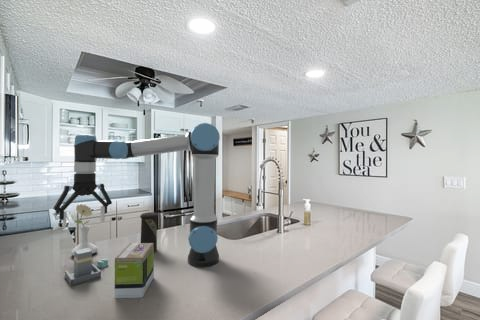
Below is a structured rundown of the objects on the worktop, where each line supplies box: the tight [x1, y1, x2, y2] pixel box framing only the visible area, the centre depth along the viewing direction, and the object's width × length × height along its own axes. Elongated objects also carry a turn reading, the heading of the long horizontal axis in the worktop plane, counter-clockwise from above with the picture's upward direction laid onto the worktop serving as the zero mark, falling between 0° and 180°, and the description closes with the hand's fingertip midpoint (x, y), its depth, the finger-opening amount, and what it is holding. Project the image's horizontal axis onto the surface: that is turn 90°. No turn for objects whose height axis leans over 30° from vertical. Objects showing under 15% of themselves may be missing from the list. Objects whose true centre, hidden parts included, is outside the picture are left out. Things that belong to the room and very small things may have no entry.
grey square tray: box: [64, 263, 102, 287], centre depth 100 cm, size 11×10×2 cm
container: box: [139, 211, 159, 253], centre depth 130 cm, size 9×9×20 cm
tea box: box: [114, 242, 155, 299], centre depth 93 cm, size 15×10×15 cm, turn 5°
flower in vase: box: [70, 203, 98, 257], centre depth 123 cm, size 13×11×25 cm
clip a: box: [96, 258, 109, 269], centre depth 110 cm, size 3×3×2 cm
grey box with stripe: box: [73, 248, 93, 278], centre depth 100 cm, size 5×5×10 cm
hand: (84, 224), depth 100 cm, fingers open, 13 cm apart
